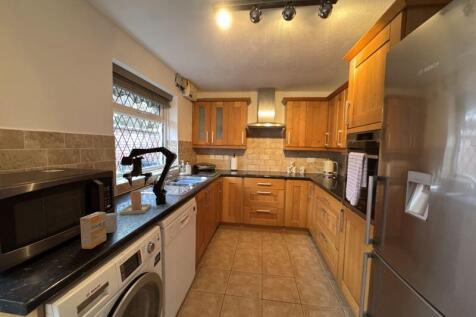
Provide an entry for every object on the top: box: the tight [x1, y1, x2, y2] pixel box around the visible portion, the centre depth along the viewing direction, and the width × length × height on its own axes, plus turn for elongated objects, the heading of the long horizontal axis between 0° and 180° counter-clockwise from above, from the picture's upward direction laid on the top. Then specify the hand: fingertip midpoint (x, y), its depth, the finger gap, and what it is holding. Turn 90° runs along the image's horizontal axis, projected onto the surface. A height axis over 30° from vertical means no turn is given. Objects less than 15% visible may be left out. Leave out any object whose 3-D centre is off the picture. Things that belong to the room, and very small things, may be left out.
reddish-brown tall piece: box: [130, 190, 143, 211], centre depth 131 cm, size 6×6×12 cm
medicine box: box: [105, 212, 118, 234], centre depth 99 cm, size 8×4×9 cm, turn 108°
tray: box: [119, 203, 152, 216], centre depth 132 cm, size 15×15×2 cm
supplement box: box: [79, 211, 107, 250], centre depth 86 cm, size 8×5×13 cm, turn 172°
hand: (138, 186), depth 145 cm, fingers open, 9 cm apart
